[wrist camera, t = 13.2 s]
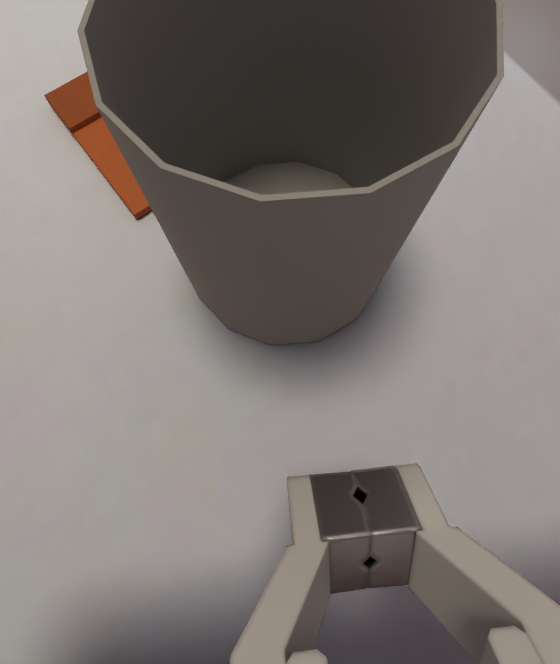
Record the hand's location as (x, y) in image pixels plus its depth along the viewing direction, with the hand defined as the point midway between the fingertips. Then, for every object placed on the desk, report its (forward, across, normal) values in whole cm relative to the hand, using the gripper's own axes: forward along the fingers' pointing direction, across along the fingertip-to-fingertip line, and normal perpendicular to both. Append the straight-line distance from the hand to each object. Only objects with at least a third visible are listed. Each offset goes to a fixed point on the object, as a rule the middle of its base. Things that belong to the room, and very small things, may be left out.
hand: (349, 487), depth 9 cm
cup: (+11, 0, -2) cm, 11 cm away
